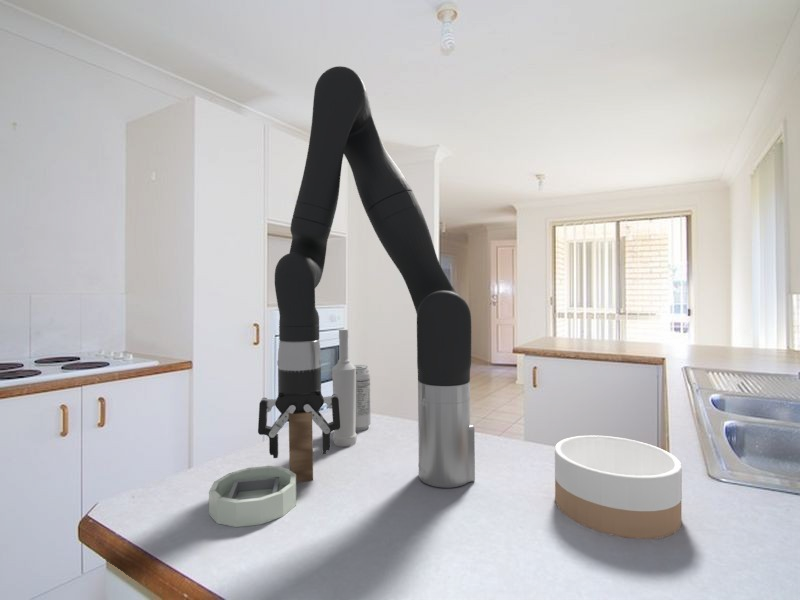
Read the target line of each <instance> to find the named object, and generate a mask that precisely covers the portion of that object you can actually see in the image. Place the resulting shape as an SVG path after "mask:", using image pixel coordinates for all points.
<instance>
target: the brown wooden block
mask: <svg viewBox="0 0 800 600" xmlns="http://www.w3.org/2000/svg"><path fill="white" fill-rule="evenodd" d="M313 437H314V436H313V419H312V412H310V413H306V412H294V413H293V414H289V421H288V449H289V451H288V453H289V455H288V457H289V460H288V461H289V470H290V471H292V472H293V473H295V474H296V483H299V482H309V481H314V454H313V453H314V452H313V451H314V450H313V449H314V448H313V447H314V446H313V445H314V444H313V442H314V441H313Z"/></svg>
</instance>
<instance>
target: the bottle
mask: <svg viewBox="0 0 800 600" xmlns="http://www.w3.org/2000/svg"><path fill="white" fill-rule="evenodd" d="M338 339H339V341H338V342H339V344H338V346H339V349H338V351H339V353H338V356H339V359H338V360H337V363H336V364H335V365H334V366H333V367H332V368H331V369H332V371H331V372H332V377H331V378H332V395H333V394H336V395H337V396H338V400H339V414H340V428H339V429H338V430H334V431H333V437H332V439H333V440H332V441H333V444H334V445H335V446H338V447H351V446H353V445H355V444H356V442H357V437H358V434H357V433H356V431H355V423H356V367H355V366H353V365H354V364H353V363H352V362H351V360H350V358H349V329H344V328H341V329H340V328H339V329H338Z"/></svg>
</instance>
